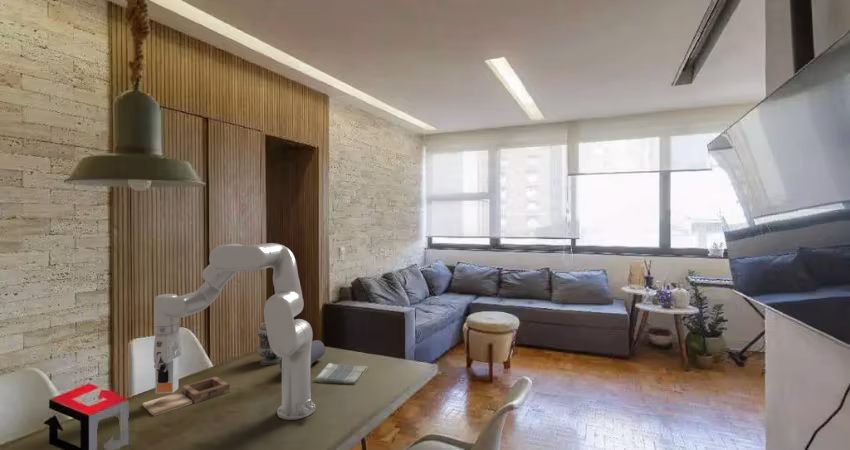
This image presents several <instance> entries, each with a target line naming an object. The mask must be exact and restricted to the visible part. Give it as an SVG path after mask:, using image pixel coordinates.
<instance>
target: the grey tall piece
mask: <svg viewBox="0 0 850 450" xmlns="http://www.w3.org/2000/svg"><path fill="white" fill-rule="evenodd" d="M256 333H257V336H258V337H259V346H258V348H257V350H256V353H257V354H258V355H259V356H260V357H263V359H261V360H260V362H259V365H264V366H271V365H272V366H273V365H277V364H280V360H281V358H282V357H280V356H277V355H276V354H275V353H274V352H273V351H272V350H271V348H270V345H269V341H268V335H267V330H266V325H265V322H262V323H261V324H260V328H259V329H258V330H257V331H256Z"/></svg>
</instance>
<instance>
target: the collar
mask: <svg viewBox="0 0 850 450" xmlns="http://www.w3.org/2000/svg"><path fill="white" fill-rule="evenodd" d="M230 387H231V385H230V383H228V382H226V381H224V379H221V378H219V377H218V376H212V377H207V378H204V379H202V380H198V381H194V382H191V383H188V384H183V385H181V393H182V394H183V395H185V396H186V397H187V398H189V399H190V400H191V401H192V403H194V404H196V403H199V402H203V401H206V400H209V399H213V398H216V397H218V396H222V395H224V394H228V393H230V390H231V388H230Z"/></svg>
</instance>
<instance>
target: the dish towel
mask: <svg viewBox="0 0 850 450" xmlns="http://www.w3.org/2000/svg"><path fill="white" fill-rule="evenodd" d="M368 370H369V367H368V366H367V365H356V364H355V365H354V364H352V363H351V364H348V363H347V364H345V363H340V362H339V363H338V364H336V363H331V362H328V363H327V364H326V366H325V367H324V368H323V369H322V370H321V371H320V372H319V374H318V375H317V376H316V377H315V378H314V383H318V382H319V383H318V384H321V383H322V384H336V385H347V384H349V385H352V386H355V385H356V384H357V383H359V381H360V380H361V379H362V378H363V377H364V375H365V374H366V373H367V372H368ZM359 379H360V380H359ZM358 380H359V381H358ZM349 385H348V386H349Z"/></svg>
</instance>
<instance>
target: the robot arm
mask: <svg viewBox="0 0 850 450" xmlns="http://www.w3.org/2000/svg"><path fill="white" fill-rule="evenodd" d="M208 261H209V264H208V265H207V266H206V267H205V268H204V269H203V270H202V273H201V274H202V275H201V276H202V279H203V280H204V282H203V283H202V285H200V287H198V289H196V290H195V291H194V292H193V291H192V292H189V293H185V294H183V295H179V296H178V295H177V294H176V293H164V294H163V293H162V294H159V295H157V296H155V297H154V300H153V321H154V322H153V323H154V324H153V327H154V333H153V335H154V342H153V363H154V364H153V368H154V370H155V369H157V372H158V383H167V382H168V371H167V366H168V363H170V362H172V360H173V359H175V358H176V357H178V358H180V357H181V355H182V339H181V334H180V333H181V331H180V318H185V317H189V316H191V315H194V314H197V313H200V312H202V311H205V309H207V308H208V307H210V305H212V303H214V301H215V300H216V299H217V298H218V297H219V296H220V295H221V294H222V290H223V289H224V286H225V285H226V284H227V283H228V282H229V281H230V280H231V279H232V277H234V276H235V275H236V274H237V273H238V272H257V271H261V270H265V269H268V268H271V269H273V272H272V273H273V274H272V282H273V287H274V288H273V289H274V294H272V295H271V296H270V297H269V298H268V299H267V300H266V301H265V303H264V307H263V317H264V323H265V325H266V330H267V335H268V341H269V345H270V348H271V350H272V351H273V352H274V353H275V354H276V355H277V357H281V358H282V370H281V405H280V406H279V407H278V408H277V411H276V414H277V416H278V418H280V419H282V420H287V421H288V420H289V421H290V420H291V421H292V420H293V421H295V420H299V419H300V420H301V419H304V418H306V417H309V416H310V415H312V414H313V413H314V412H315V411H316V404H315V402H313V401H312V399H311V391H312V389H311V387H312V386H311V384H312V383H311V382H312V380H311V378H312V377H311V375H312V374H311V366H312V365H311V345H312V341H313V336H314V335H313V334H314V333H313V329H312V326H311V324H310V323H309V322H308V321H307V320H305V319H302V318H297V319H294V318H295V317H296V316H298V315H299V314H300V313H302V311H303V309H304V306H305V305H304V302H305V301H304V298H303V292H302V287H301V283H300V278H299V272H298V265H297V260H296V258H295V255H294V253H293V251H291V249H290V248H289V247H286V246H285V245H283V244H280V243H276V242H270V243H269V242H268V243H260V244H259V243H258V244H251V245H249V244H248V245H243V244H240V243H228V244H220V245H218V246H216V247H214V248H213V250H211V252H210V255H209V259H208ZM161 361H163V363H161ZM161 365H164V367H163V366H161Z"/></svg>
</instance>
